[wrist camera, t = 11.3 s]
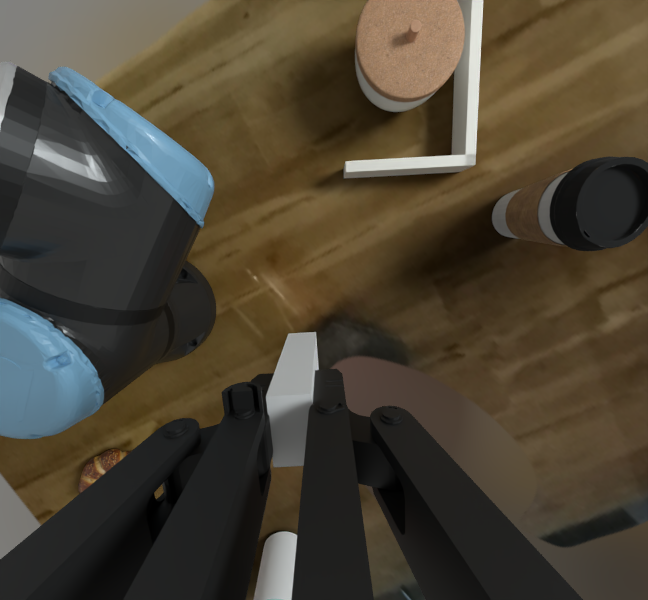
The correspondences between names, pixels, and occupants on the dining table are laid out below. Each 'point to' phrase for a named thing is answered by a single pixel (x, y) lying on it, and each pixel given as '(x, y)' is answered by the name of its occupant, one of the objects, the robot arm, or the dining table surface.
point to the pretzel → (99, 467)
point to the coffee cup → (580, 206)
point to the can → (277, 567)
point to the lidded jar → (407, 50)
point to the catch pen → (462, 114)
